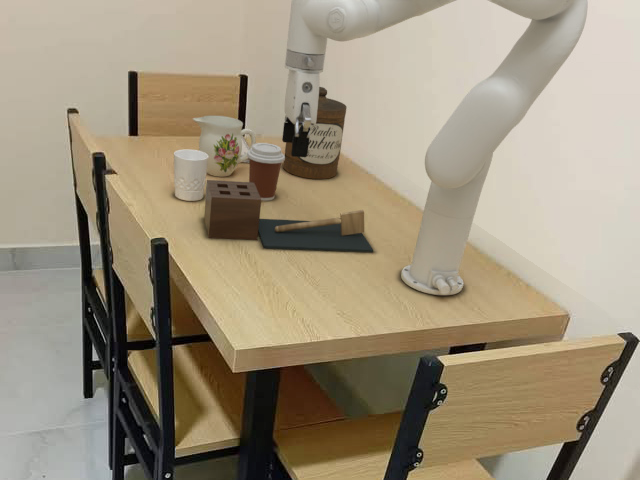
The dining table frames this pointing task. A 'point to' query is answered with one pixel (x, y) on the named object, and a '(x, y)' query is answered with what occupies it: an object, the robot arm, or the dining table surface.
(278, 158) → the coffee cup
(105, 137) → the dining table surface
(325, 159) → the wooden container
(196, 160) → the white cup
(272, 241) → the mat
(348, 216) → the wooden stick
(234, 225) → the utensil block
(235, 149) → the pitcher
